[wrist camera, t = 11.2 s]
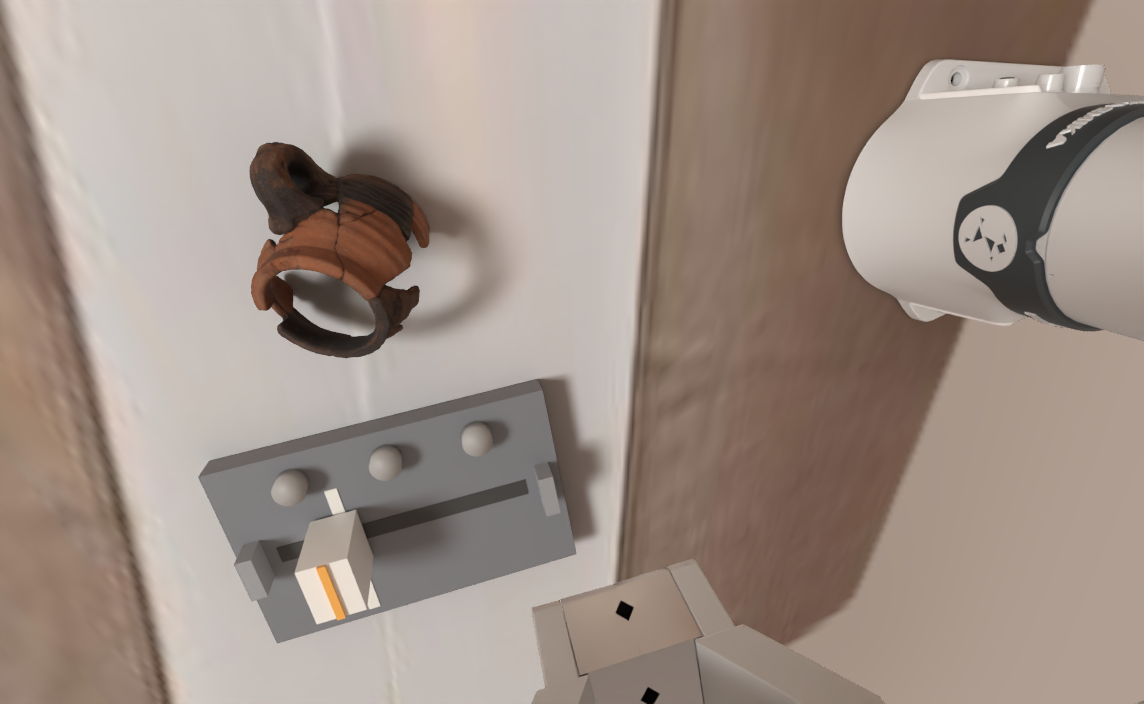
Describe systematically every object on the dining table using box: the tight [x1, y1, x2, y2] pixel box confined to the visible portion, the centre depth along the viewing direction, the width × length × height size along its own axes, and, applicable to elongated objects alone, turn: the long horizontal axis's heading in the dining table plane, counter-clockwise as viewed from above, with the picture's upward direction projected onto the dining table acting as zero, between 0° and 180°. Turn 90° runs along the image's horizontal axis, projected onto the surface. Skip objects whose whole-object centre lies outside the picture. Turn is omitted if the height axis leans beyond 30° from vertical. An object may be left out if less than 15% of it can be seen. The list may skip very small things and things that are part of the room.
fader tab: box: [295, 510, 373, 624], centre depth 38 cm, size 3×4×5 cm
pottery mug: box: [250, 142, 429, 358], centre depth 34 cm, size 12×9×8 cm
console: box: [198, 379, 576, 643], centre depth 41 cm, size 22×14×4 cm, turn 100°
